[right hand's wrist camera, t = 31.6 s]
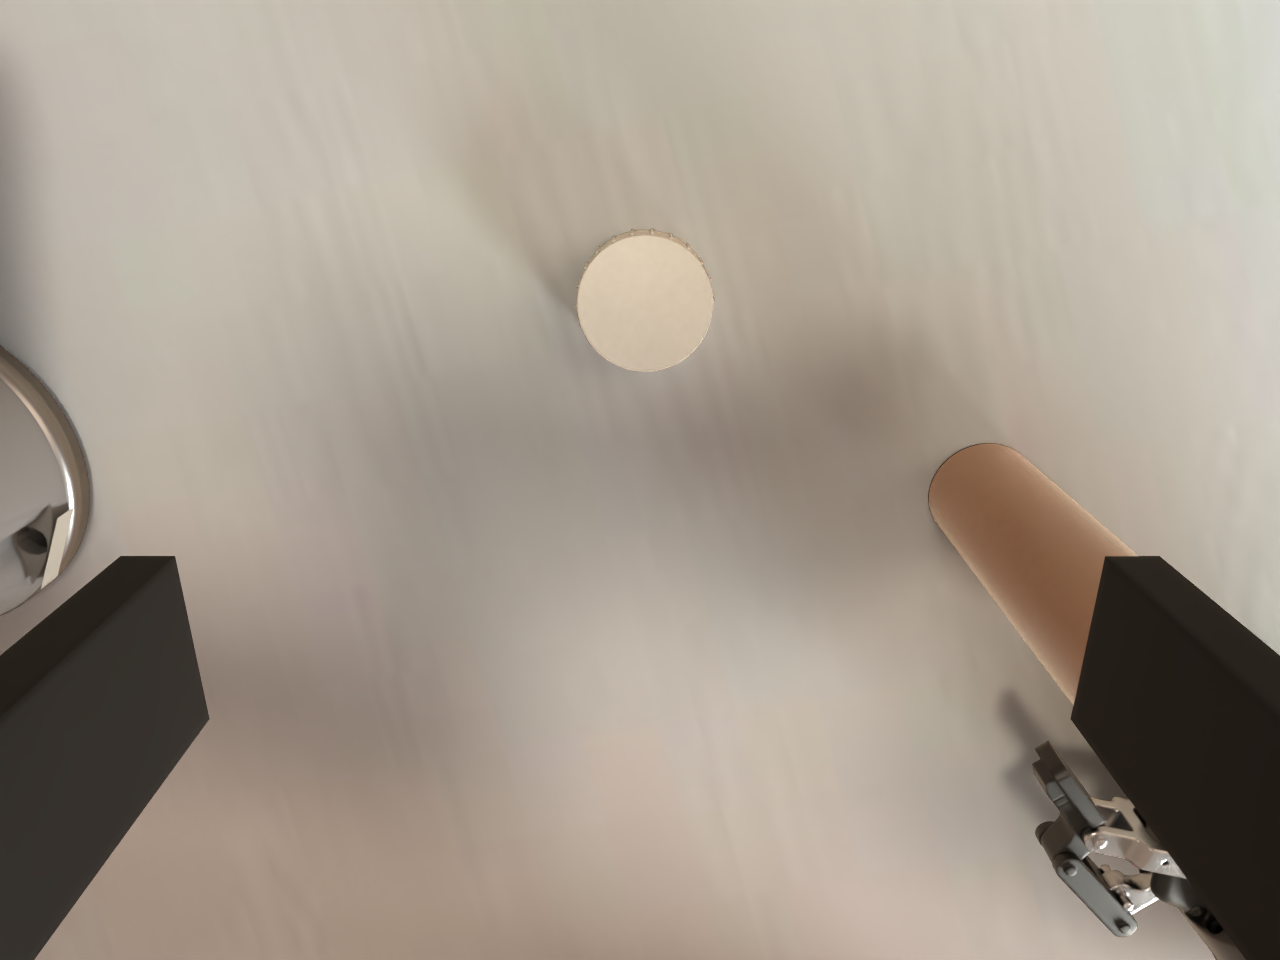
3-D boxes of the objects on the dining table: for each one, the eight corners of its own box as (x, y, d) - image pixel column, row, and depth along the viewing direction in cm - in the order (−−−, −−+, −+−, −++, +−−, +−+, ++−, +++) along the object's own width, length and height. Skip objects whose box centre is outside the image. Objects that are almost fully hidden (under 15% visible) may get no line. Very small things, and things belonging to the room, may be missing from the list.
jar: (1034, 532, 43) (1271, 776, 27) (930, 547, 44) (1103, 797, 27) (1034, 435, 41) (1289, 634, 25) (925, 451, 42) (1108, 658, 25)
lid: (719, 235, 38) (723, 240, 36) (702, 368, 40) (705, 380, 38) (583, 221, 38) (581, 226, 36) (573, 355, 40) (570, 366, 38)
